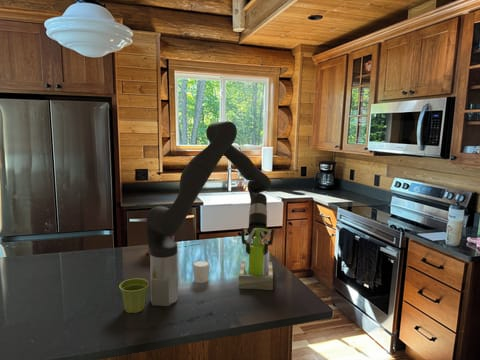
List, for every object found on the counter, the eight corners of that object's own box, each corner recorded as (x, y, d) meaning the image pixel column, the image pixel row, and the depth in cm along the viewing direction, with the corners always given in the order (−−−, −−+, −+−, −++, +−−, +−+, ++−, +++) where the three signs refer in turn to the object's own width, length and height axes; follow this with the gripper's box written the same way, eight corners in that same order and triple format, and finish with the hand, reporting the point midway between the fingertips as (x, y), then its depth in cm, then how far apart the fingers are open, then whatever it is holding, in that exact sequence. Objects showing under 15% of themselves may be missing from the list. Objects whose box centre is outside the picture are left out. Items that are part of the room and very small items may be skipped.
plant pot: (138, 298, 118) (138, 275, 117) (155, 308, 113) (154, 283, 111) (114, 309, 111) (113, 284, 110) (130, 319, 105) (129, 293, 104)
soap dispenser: (265, 280, 131) (268, 231, 128) (248, 279, 131) (250, 230, 128) (264, 273, 137) (267, 226, 134) (248, 272, 137) (250, 225, 134)
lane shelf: (272, 289, 127) (273, 277, 127) (238, 288, 128) (238, 275, 127) (271, 270, 145) (271, 259, 144) (241, 269, 145) (241, 258, 145)
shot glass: (189, 281, 133) (189, 264, 132) (199, 275, 139) (199, 258, 138) (203, 285, 130) (203, 268, 129) (213, 278, 136) (213, 262, 135)
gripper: (240, 211, 138) (238, 248, 128) (275, 212, 137) (275, 250, 128) (241, 220, 144) (238, 256, 135) (274, 221, 144) (274, 258, 134)
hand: (256, 253), depth 131 cm, fingers closed on soap dispenser, 6 cm apart
